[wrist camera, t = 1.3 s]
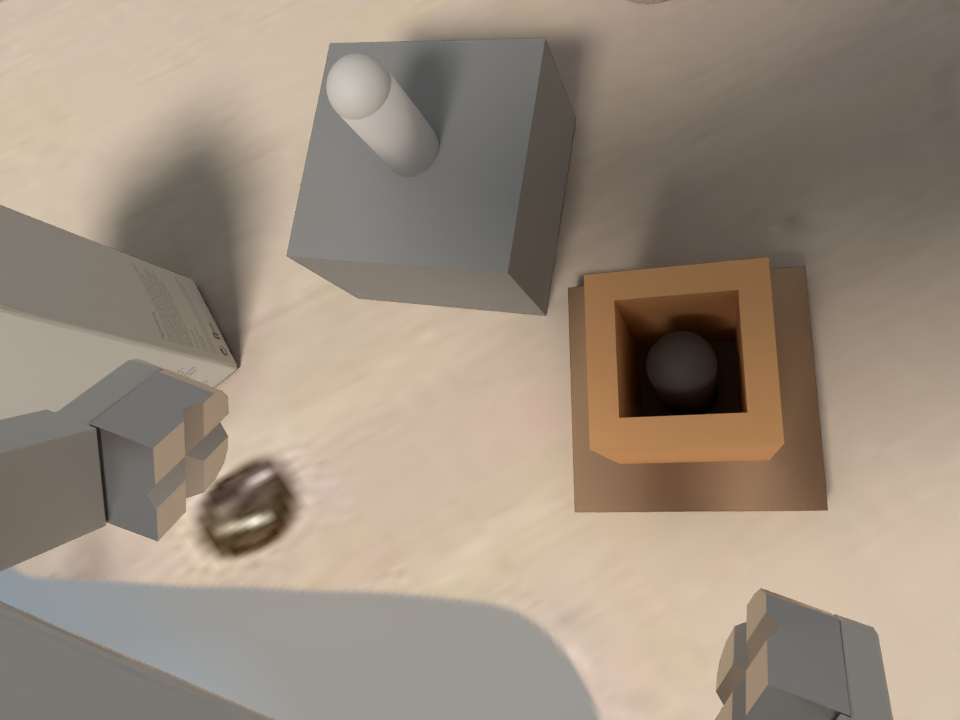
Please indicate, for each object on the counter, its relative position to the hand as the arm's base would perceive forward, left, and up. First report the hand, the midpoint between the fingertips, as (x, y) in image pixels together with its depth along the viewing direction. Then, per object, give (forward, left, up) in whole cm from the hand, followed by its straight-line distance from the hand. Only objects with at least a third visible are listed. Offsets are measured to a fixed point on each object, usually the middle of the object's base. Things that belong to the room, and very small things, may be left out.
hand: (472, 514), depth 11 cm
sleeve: (-2, -5, -23) cm, 23 cm away
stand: (-2, -5, -24) cm, 25 cm away
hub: (+10, -13, -24) cm, 29 cm away
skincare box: (+26, -3, -24) cm, 36 cm away
